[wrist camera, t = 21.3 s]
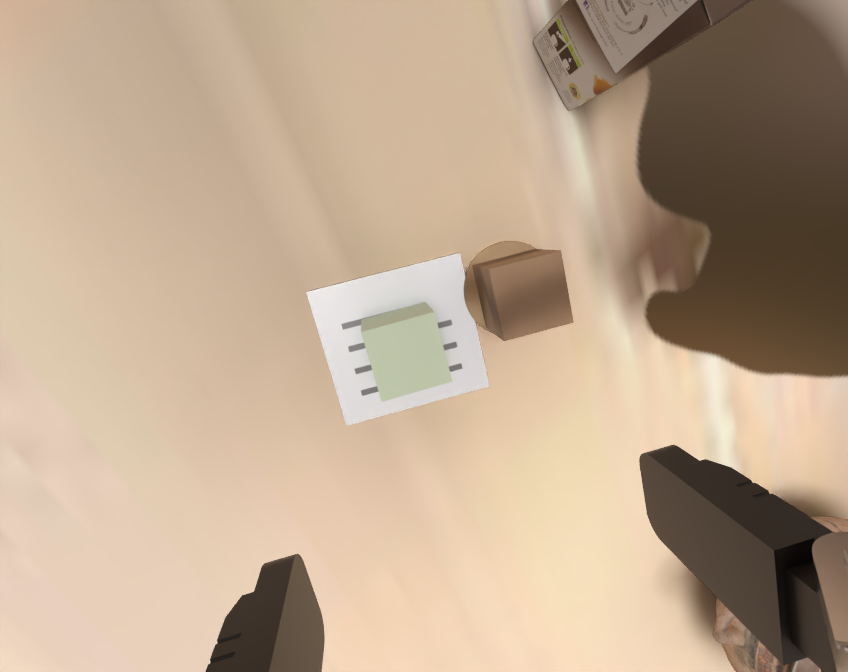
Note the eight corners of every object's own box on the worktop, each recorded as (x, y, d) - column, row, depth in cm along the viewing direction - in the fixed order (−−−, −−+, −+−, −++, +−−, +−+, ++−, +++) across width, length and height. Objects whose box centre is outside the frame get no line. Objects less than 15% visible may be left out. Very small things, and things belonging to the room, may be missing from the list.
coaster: (453, 254, 40) (454, 254, 39) (544, 231, 40) (545, 230, 40) (473, 344, 41) (474, 345, 41) (560, 321, 42) (561, 321, 42)
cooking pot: (636, 642, 50) (720, 767, 38) (677, 478, 47) (784, 560, 35) (838, 644, 54) (972, 760, 42) (890, 492, 50) (1053, 571, 38)
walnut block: (472, 265, 40) (488, 269, 34) (534, 249, 40) (560, 250, 35) (485, 327, 41) (504, 341, 35) (546, 311, 41) (573, 322, 36)
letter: (306, 291, 39) (306, 292, 38) (459, 252, 40) (460, 252, 39) (346, 424, 41) (346, 425, 41) (488, 385, 42) (489, 386, 42)
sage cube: (361, 319, 39) (360, 332, 34) (425, 301, 40) (434, 311, 34) (379, 380, 41) (381, 401, 35) (440, 362, 41) (452, 381, 36)
